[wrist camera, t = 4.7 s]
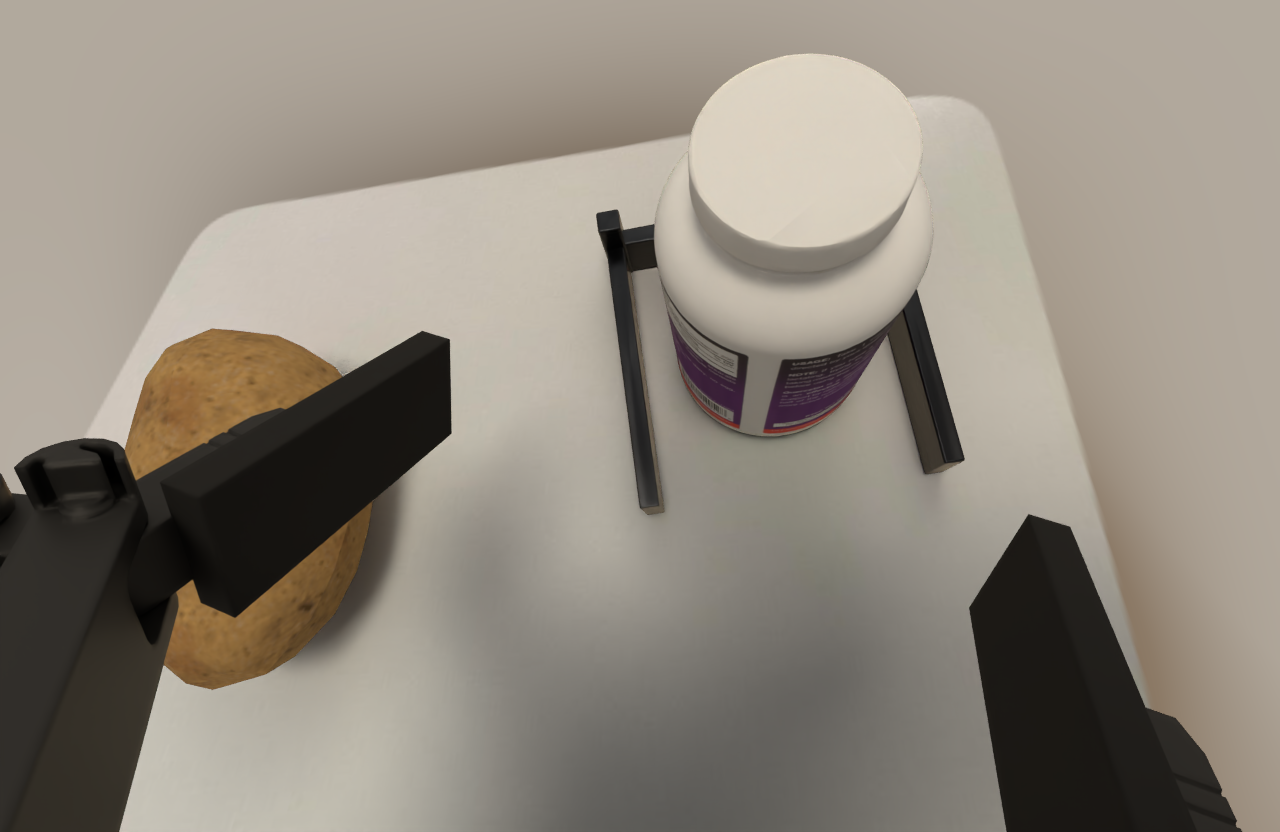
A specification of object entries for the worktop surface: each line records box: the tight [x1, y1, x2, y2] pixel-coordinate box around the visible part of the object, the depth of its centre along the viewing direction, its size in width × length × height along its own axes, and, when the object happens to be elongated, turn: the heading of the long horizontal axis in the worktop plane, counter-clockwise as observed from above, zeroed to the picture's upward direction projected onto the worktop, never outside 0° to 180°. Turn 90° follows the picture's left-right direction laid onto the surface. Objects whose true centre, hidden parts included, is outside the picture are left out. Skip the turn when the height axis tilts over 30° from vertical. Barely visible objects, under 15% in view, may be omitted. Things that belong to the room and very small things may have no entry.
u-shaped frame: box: [596, 210, 965, 515], centre depth 27 cm, size 13×13×4 cm
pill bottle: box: [654, 54, 933, 436], centre depth 22 cm, size 8×8×14 cm
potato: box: [125, 329, 373, 690], centre depth 25 cm, size 10×14×8 cm
